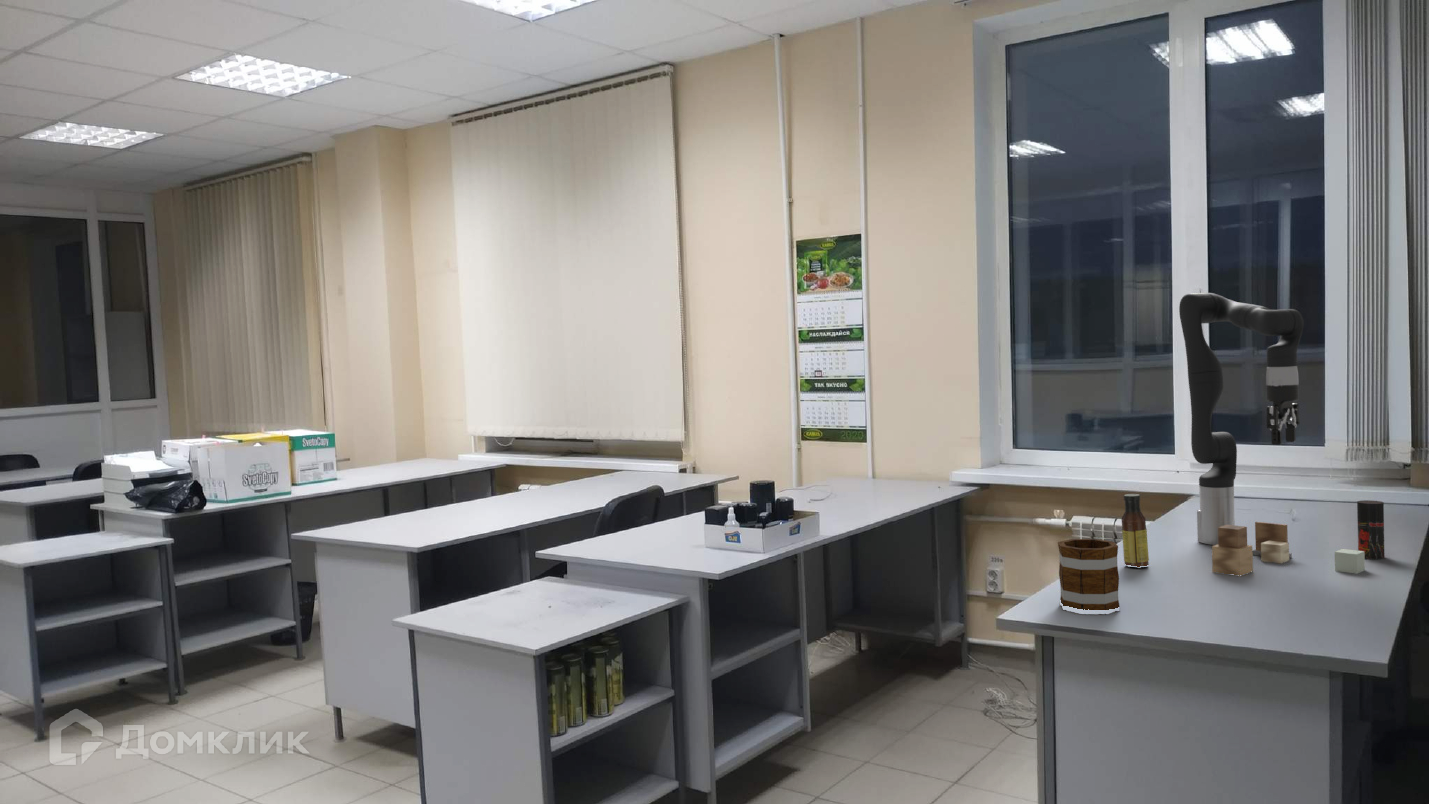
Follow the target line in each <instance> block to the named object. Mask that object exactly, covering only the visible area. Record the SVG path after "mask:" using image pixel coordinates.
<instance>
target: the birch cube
mask: <svg viewBox="0 0 1429 804" xmlns="http://www.w3.org/2000/svg"><path fill="white" fill-rule="evenodd" d="M1289 543H1290V542H1288V543H1287V542H1278V541H1270V540H1269V541H1266V542H1263V543H1261V556H1260V557H1261V558H1260V559H1261V562H1264V563H1265V562H1267V563H1272V562H1276V564H1280V563H1281V564H1284V563H1287V562H1289V561H1290V558H1289V553H1290V545H1289ZM1283 562H1284V563H1283Z"/></svg>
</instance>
